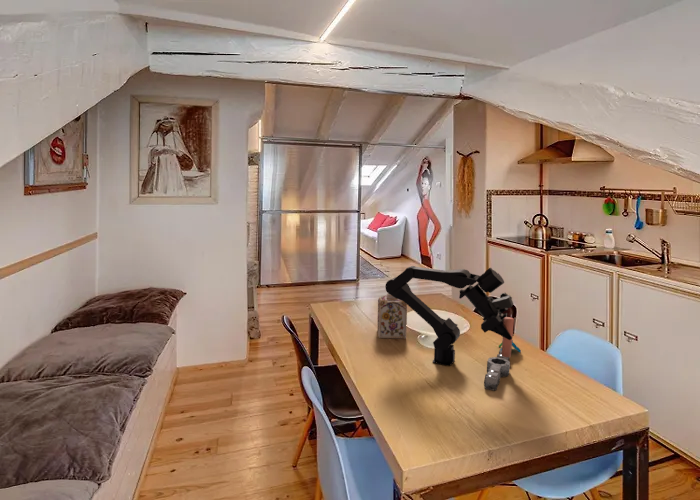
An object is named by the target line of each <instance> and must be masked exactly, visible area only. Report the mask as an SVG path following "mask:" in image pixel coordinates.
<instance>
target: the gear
mask: <svg viewBox="0 0 700 500" xmlns="http://www.w3.org/2000/svg"><path fill="white" fill-rule="evenodd" d="M501 337H502V338H501V339H502V340H501V343H500V344H499V345H498V347H499V348H500V349H499V350H501V351H502V341H503V336H501ZM512 348H513V349H514V350H516V351H517V353H521V352H522V350H521V349H520V348H519V346H518V345H517V344H516V343H514V340H513V339H512Z"/></svg>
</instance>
